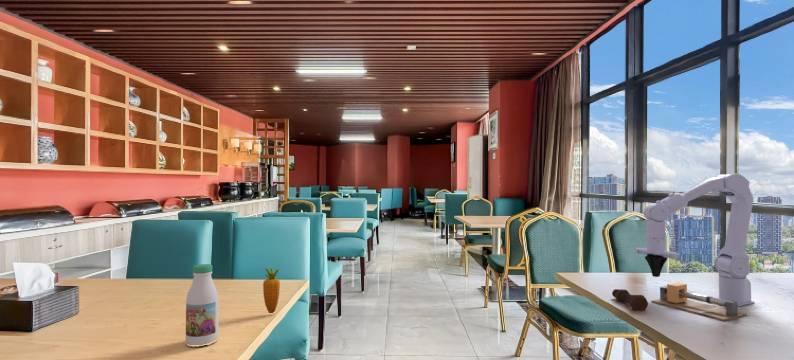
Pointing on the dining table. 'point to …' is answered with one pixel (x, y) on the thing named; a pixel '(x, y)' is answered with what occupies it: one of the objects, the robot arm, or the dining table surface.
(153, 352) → the dining table surface
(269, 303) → the carrot
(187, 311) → the milk bottle
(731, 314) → the rail
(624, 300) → the bolt
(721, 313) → the board
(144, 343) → the dining table surface
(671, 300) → the collar
